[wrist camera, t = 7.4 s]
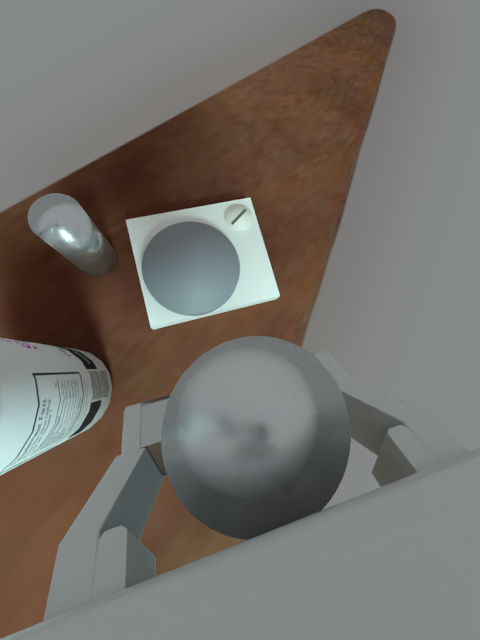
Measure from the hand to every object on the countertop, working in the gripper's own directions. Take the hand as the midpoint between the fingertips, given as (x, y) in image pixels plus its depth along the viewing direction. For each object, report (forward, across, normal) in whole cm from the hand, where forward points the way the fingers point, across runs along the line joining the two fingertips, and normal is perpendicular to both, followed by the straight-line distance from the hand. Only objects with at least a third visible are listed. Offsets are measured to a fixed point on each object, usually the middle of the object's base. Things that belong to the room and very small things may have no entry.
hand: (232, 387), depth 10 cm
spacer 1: (+25, +9, +3) cm, 27 cm away
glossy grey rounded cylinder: (+3, 0, +4) cm, 4 cm away
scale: (+23, -2, +5) cm, 23 cm away
